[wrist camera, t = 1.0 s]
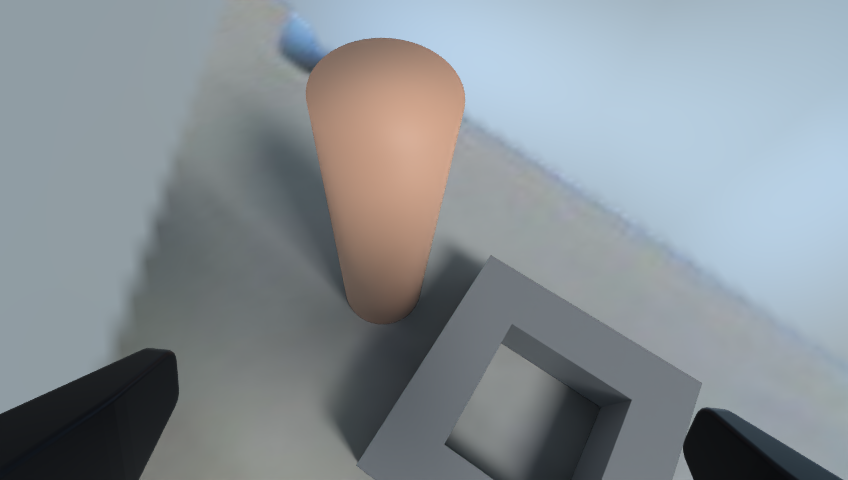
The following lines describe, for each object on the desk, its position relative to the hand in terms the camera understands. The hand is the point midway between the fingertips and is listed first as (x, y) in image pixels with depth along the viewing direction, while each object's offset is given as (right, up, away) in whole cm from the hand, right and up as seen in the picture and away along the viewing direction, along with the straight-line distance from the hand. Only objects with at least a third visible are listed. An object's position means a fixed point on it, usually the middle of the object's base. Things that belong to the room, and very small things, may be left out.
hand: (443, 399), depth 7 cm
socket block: (+4, -6, +13) cm, 15 cm away
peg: (-2, 0, +16) cm, 16 cm away
